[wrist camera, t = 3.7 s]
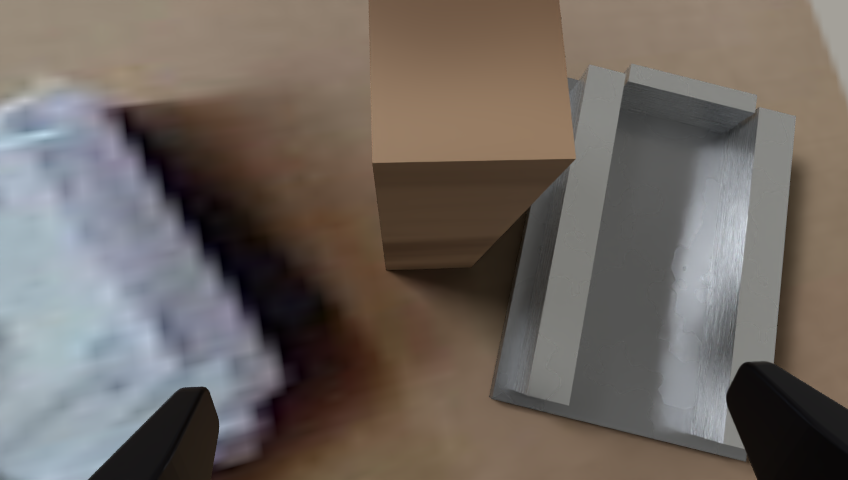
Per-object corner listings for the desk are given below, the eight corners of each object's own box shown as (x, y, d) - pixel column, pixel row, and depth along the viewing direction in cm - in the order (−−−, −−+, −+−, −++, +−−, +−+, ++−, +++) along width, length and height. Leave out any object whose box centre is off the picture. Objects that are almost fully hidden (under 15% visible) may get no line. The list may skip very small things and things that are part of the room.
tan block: (470, 267, 21) (575, 158, 9) (386, 270, 21) (372, 163, 9) (462, 131, 22) (544, -132, 10) (382, 132, 22) (365, -134, 10)
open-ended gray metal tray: (735, 458, 20) (785, 474, 17) (488, 397, 20) (502, 404, 17) (768, 135, 23) (815, 109, 20) (553, 82, 23) (573, 48, 20)
